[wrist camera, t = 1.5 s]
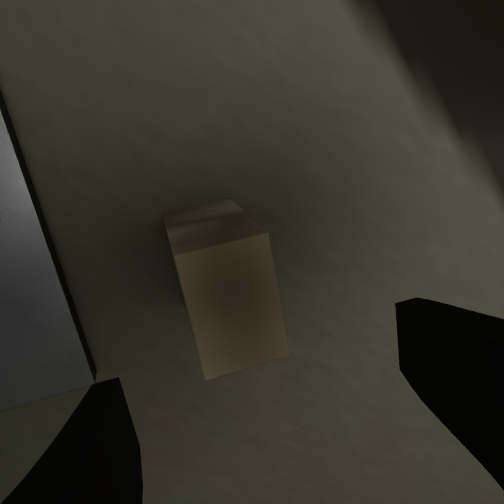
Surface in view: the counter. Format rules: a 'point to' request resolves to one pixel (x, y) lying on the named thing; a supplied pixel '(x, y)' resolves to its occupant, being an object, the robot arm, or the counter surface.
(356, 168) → the counter surface
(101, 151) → the counter surface
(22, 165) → the black tray
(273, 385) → the counter surface
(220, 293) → the cardboard box
